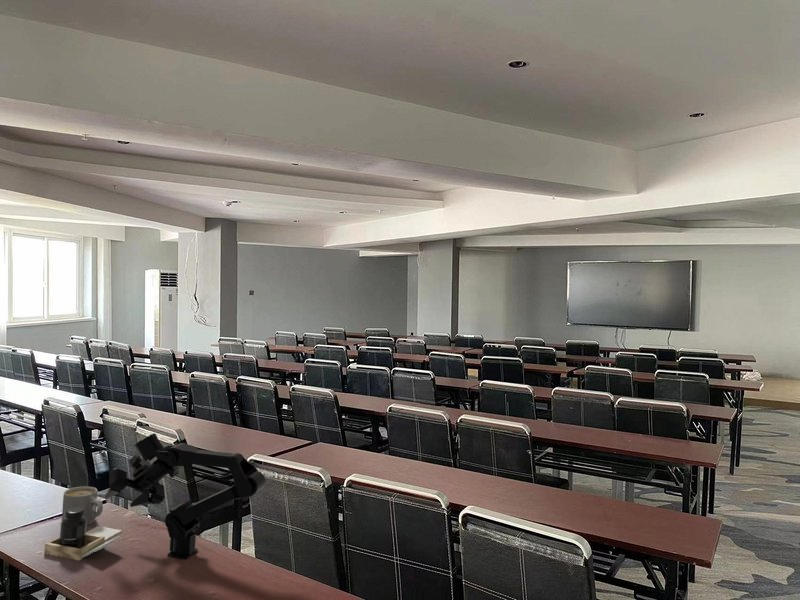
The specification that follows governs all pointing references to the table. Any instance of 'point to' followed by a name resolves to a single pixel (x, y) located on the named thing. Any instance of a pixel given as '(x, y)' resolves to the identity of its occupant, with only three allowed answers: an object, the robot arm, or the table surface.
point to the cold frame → (70, 552)
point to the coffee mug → (83, 502)
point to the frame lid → (101, 546)
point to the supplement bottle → (73, 528)
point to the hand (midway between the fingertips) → (118, 501)
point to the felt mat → (104, 532)
